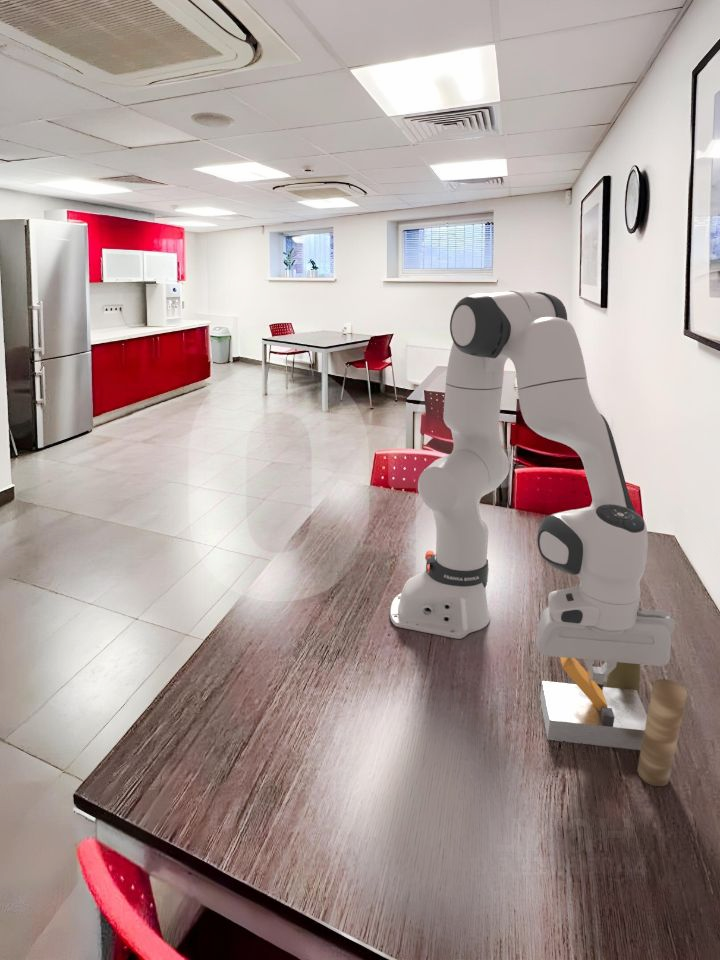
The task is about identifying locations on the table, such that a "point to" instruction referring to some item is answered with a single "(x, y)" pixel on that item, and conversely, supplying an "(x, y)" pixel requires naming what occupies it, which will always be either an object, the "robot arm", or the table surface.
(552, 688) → the breaker box
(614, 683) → the olive knobbed post
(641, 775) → the oak post
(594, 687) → the lever
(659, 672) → the table surface
